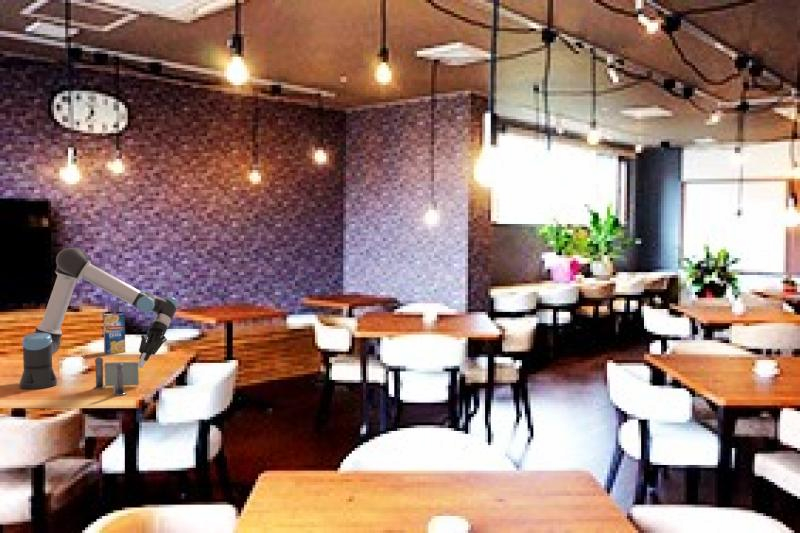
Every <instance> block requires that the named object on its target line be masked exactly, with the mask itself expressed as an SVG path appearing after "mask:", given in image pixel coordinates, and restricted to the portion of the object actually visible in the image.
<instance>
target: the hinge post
mask: <svg viewBox="0 0 800 533" xmlns="http://www.w3.org/2000/svg"><path fill="white" fill-rule="evenodd" d="M94 363H95V386H94V387H93V390H96V389H98V390H104V389H103V388H105V389H106V387H107V386H105V385H104V359H103V357H100V356H98V357H96V358H95V360H94Z"/></svg>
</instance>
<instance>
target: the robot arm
mask: <svg viewBox="0 0 800 533" xmlns="http://www.w3.org/2000/svg"><path fill="white" fill-rule="evenodd" d="M55 263H56V268H55V274H56V275H57V276H56V279H55V283H54V286H53V289H52V290H51V293H50V298H49V300H48V303H47V306H46V309H45V312H44V314H43V317H42V320H41V323H40V324H39V325H37V326H36V327H35V330H34V331H33V332H34V333H30V334H26V335H25V336H24V337H23V338H22V343H21V344H22V358H23V359H22V360H23V371H22V374H21V378H20V381H19V389H22V390H23V389H24V390H37V389H47V388H51V387H54V386H56V385H58V378H57V375H56V374H55V371H54V369H53V355H55V354H56V353H57V352H58V351H59V349H60V347H61V338H62V336H63V331H62V329H61V328H62V325H63V322H64V318H65V316H66V313H67V310H68V307H69V304H70V301H71V298H72V295H73V293H74V290H75V287H76V284H77V282H78V281H80V280H81V279H83V280H84V281H86V282H89V283H90V284H91V285H94V286H95V287H98V288H99V289H102V290H103V291H105V292H107V293H108V294H111V295H113V297H115V298H116V297H117V298H118V299H120V300H122V301H123V302H126V303H127V304H129V305H131V306H133V307H134V308H136V309H138V311H140V313H149V312H153V313H155V314H156V315H155V317H154V319H153V321H152V323H151V325H150V327H149V331H148V332H147V333H146V334H145V335H144V334H142V335H141V340H140V344H139V347H138V348H139V349H138V352H139V353H140V356H139V358H138V359H139V360H138V361H137V362H138V368H139V369H140V368H141V369H143V368H144V367H145V364H146V363H147V361H149V358H150V357H151V356H153V355H154V356H155V355H156V353H157V352H158V350H159V349H160V348H161V347H162V345H163V344H164V343H165V342H166V341H167V340H168V339H167V337H166V336H165V335H166V333H167V331H168V328H169V327H170V323H171V322H172V320H173V318H174V316H175V314H176V312H177V310H178V307H179V305H180V304H179V301H178V300H177V299H176V297H173V296H166V297H164V298H162V297H159V296H157V295H155V294H153V293H150V292H148V291H145V290H143V289H141V290H139V289H137V288H135V287H133V286H132V285H131V284H128V283H126V282H124V281H123V280H120V279H119V278H117V277H115V276H113V275H111V274H109V273H108V272H106V271H104V270H103V269H101V268H99V267H97V266H95V265H94V264H92V263H91V260H90V259H89V257H88V254H87V253H86V251H85V250H83V249H81V248H79V247H77V246H75V247H74V246H72V247H65V248H63V249H62V250H61V251H59V252H58V253H57V255H56V258H55Z"/></svg>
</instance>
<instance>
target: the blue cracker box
mask: <svg viewBox="0 0 800 533" xmlns="http://www.w3.org/2000/svg"><path fill="white" fill-rule="evenodd" d="M102 315H103V316H102V318H103V319H102V320H103V324H102V325H103V352H104V354H105V355H108V354H119V353H121V354H122V353H126V323H125V321H126V320H125V313H123V312H122V313H105V314H104V313H103V314H102Z"/></svg>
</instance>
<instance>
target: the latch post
mask: <svg viewBox="0 0 800 533" xmlns="http://www.w3.org/2000/svg"><path fill="white" fill-rule="evenodd" d="M117 363H118V362H117ZM116 367H117V385H113V386H112V394H113V395H114V396H118V397H119V396H126V395H127V394H128V392H126V391H124V385H123V364H122V363H118V364H117V366H116Z"/></svg>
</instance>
